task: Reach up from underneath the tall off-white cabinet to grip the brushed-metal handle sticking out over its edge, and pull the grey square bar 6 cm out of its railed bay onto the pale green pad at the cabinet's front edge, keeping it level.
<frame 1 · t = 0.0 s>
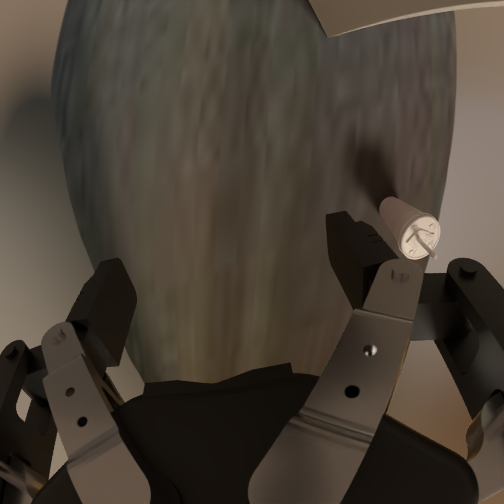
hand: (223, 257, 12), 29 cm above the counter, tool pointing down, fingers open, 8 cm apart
smoothie: (389, 207, 44), on the counter
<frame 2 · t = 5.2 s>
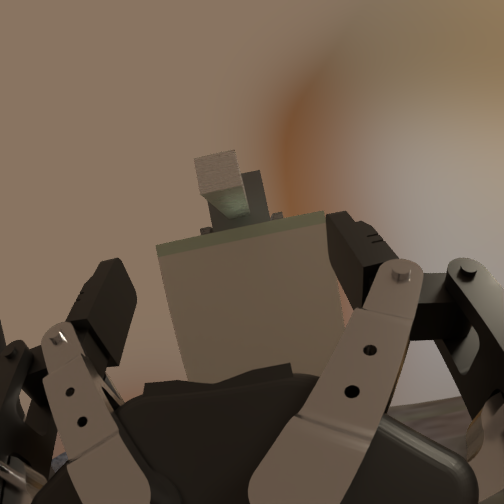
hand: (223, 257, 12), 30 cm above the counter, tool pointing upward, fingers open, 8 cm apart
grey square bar: (244, 232, 37), point 32 cm above the counter, touching cabinet
cabinet: (293, 472, 34), on the counter
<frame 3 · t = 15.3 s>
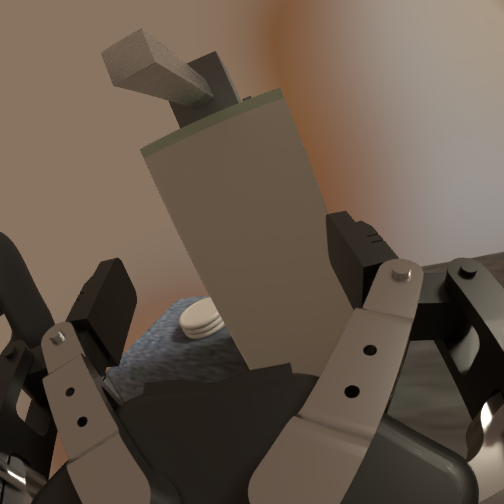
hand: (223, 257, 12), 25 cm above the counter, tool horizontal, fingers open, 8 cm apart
coaster: (208, 325, 61), on the counter
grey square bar: (216, 118, 31), point 32 cm above the counter, touching cabinet
cabinet: (309, 341, 44), on the counter
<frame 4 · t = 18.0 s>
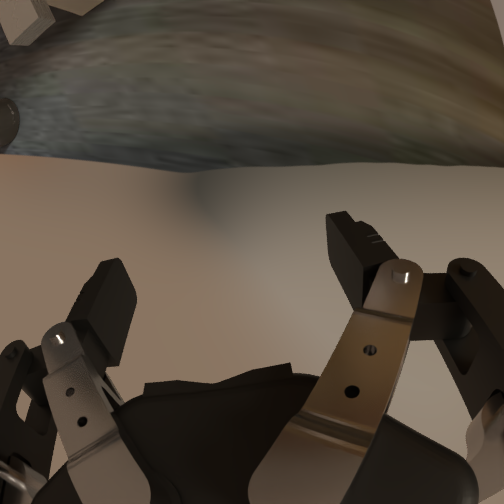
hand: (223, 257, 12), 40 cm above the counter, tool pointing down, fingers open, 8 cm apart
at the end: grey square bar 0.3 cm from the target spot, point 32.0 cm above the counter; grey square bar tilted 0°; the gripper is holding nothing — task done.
